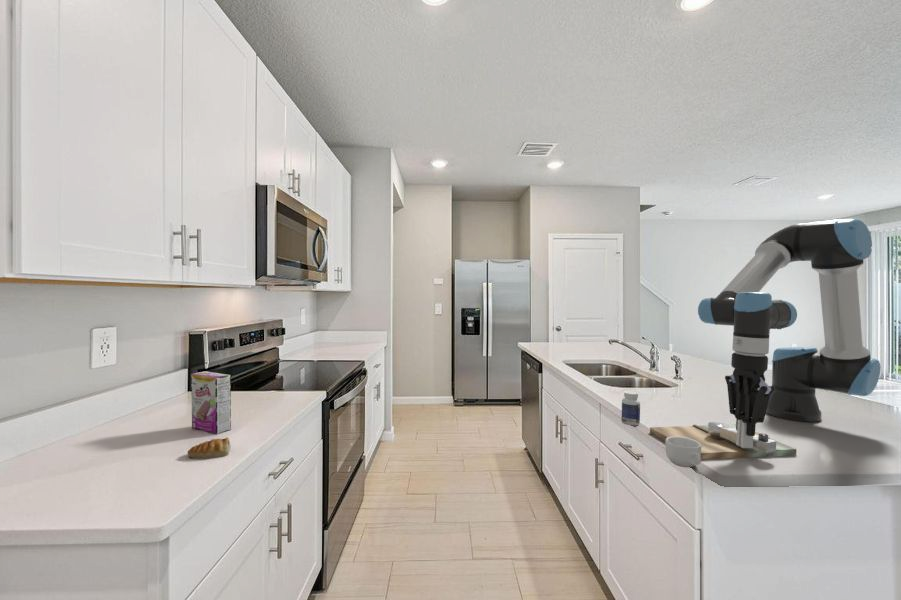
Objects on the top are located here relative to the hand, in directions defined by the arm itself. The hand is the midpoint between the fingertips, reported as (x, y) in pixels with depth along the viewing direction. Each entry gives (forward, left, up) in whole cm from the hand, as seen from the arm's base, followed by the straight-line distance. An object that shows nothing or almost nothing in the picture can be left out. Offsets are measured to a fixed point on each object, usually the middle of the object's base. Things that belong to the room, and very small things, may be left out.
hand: (744, 446), depth 110 cm
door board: (-1, -10, -3) cm, 11 cm away
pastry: (+133, -16, -4) cm, 134 cm away
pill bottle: (+14, -29, -3) cm, 33 cm away
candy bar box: (+141, -35, -3) cm, 145 cm away
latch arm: (-2, -5, 0) cm, 5 cm away
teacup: (+18, +3, -3) cm, 18 cm away
